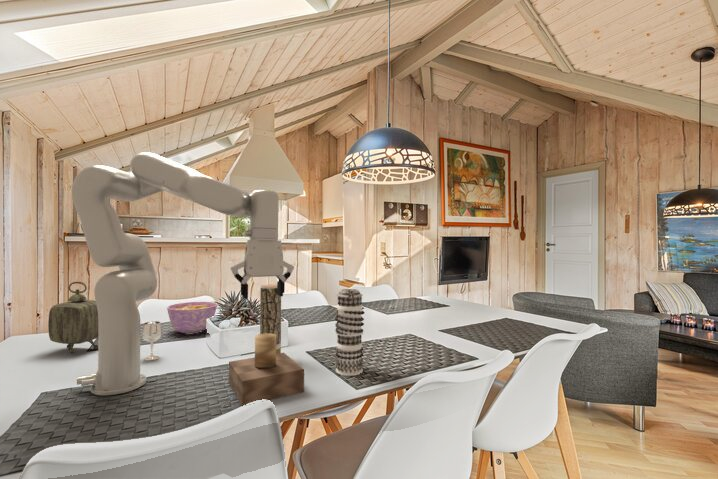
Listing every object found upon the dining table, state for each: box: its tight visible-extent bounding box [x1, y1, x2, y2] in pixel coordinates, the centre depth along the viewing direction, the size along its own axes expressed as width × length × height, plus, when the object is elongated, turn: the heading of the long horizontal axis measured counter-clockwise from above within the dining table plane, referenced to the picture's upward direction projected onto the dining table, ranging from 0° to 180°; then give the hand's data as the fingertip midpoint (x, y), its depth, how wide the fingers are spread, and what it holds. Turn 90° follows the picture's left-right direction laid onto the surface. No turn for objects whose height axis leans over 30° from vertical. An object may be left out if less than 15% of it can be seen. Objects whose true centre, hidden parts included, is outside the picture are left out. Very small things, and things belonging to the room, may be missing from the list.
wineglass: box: [141, 320, 163, 361], centre depth 119 cm, size 6×6×12 cm
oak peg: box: [254, 333, 276, 370], centre depth 96 cm, size 6×6×14 cm
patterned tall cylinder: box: [334, 288, 365, 377], centre depth 109 cm, size 9×9×25 cm
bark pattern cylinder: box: [259, 283, 282, 354], centre depth 118 cm, size 7×7×25 cm
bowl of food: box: [166, 301, 218, 333], centre depth 153 cm, size 20×20×12 cm
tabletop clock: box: [47, 281, 99, 354], centre depth 126 cm, size 14×9×25 cm, turn 84°
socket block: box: [228, 352, 305, 406], centre depth 96 cm, size 16×16×6 cm
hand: (263, 296), depth 97 cm, fingers open, 9 cm apart
